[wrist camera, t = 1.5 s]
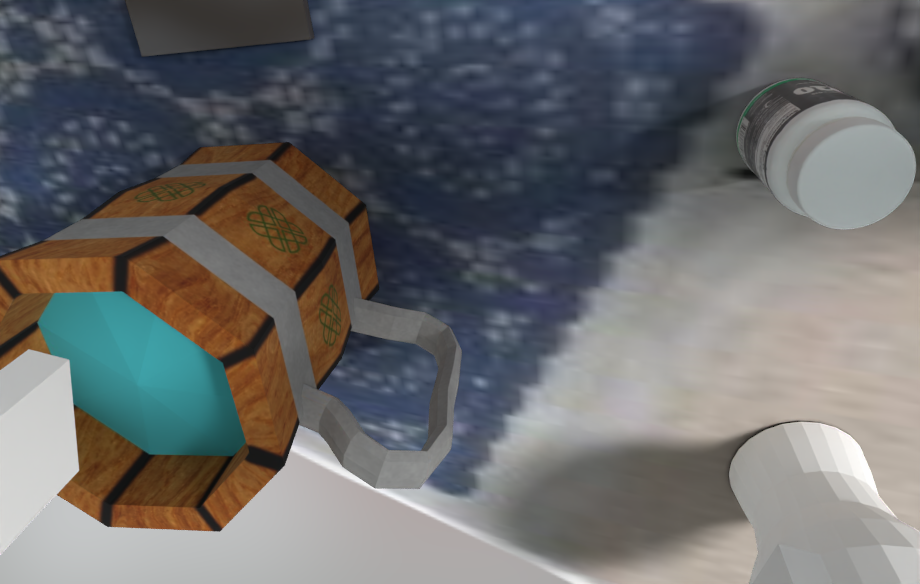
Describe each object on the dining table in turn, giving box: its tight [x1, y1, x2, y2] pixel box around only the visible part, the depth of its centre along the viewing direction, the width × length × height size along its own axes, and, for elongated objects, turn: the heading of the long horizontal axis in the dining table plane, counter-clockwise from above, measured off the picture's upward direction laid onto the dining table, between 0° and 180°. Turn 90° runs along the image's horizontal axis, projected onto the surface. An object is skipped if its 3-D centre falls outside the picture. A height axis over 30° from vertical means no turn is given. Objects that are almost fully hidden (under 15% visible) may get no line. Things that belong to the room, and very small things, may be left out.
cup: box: [729, 422, 920, 584], centre depth 33 cm, size 11×11×15 cm
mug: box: [0, 142, 462, 531], centre depth 31 cm, size 20×14×15 cm
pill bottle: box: [736, 78, 916, 230], centre depth 27 cm, size 5×5×8 cm
